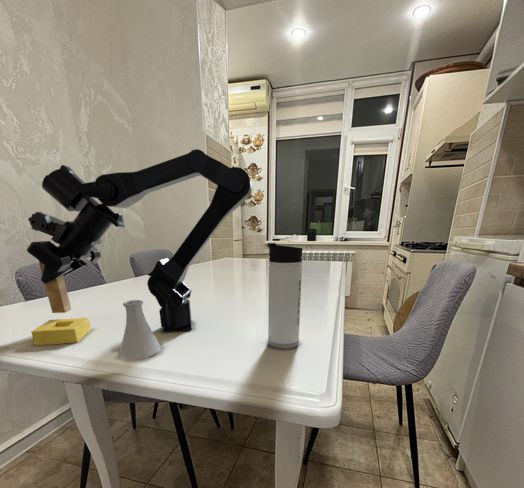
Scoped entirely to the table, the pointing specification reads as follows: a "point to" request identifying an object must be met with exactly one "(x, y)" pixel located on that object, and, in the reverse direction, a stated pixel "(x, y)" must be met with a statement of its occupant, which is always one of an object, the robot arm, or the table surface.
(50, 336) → the holder
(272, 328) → the travel mug
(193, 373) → the table surface
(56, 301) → the peg
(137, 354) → the flask
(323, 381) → the table surface
